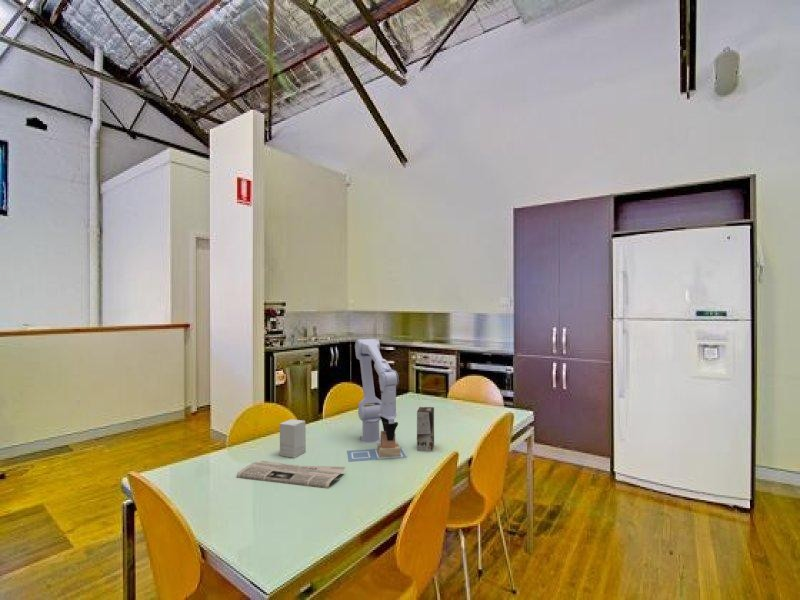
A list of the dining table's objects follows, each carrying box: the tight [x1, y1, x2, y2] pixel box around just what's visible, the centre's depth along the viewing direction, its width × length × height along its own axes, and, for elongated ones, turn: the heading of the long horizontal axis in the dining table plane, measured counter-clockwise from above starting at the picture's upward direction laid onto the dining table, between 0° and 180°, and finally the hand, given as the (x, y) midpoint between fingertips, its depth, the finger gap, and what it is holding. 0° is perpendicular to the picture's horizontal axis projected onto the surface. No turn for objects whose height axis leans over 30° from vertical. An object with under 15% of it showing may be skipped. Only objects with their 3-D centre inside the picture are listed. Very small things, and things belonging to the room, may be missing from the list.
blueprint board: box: [346, 446, 408, 463], centre depth 161 cm, size 12×22×1 cm, turn 100°
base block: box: [376, 441, 402, 458], centre depth 162 cm, size 8×8×3 cm
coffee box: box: [416, 406, 435, 453], centre depth 168 cm, size 9×6×16 cm
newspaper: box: [236, 460, 346, 489], centre depth 142 cm, size 35×12×4 cm, turn 75°
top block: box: [380, 430, 396, 448], centre depth 162 cm, size 5×5×5 cm
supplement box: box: [279, 418, 307, 459], centre depth 163 cm, size 7×7×13 cm
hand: (388, 437), depth 162 cm, fingers open, 7 cm apart
